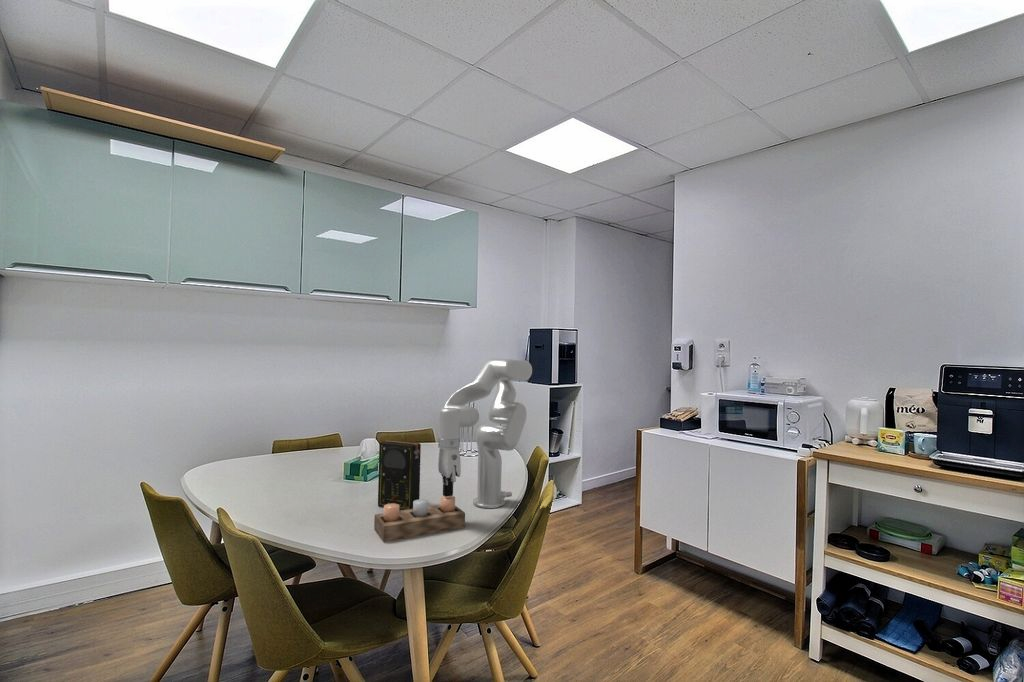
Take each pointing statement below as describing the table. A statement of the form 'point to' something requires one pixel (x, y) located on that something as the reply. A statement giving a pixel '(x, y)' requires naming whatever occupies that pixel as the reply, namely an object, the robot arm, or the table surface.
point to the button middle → (420, 508)
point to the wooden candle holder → (418, 523)
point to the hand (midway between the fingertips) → (447, 495)
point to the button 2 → (447, 504)
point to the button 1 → (391, 512)
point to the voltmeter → (399, 473)
